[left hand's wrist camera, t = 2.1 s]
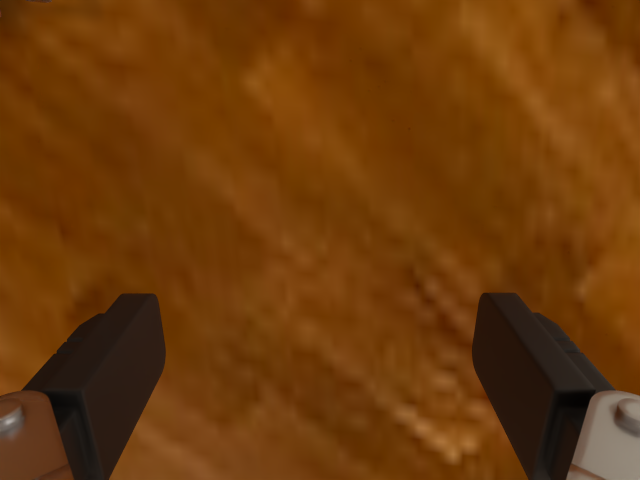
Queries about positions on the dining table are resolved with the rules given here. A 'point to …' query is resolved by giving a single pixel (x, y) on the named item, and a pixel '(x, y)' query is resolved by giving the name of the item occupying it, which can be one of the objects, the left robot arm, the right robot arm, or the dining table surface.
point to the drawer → (33, 1)
